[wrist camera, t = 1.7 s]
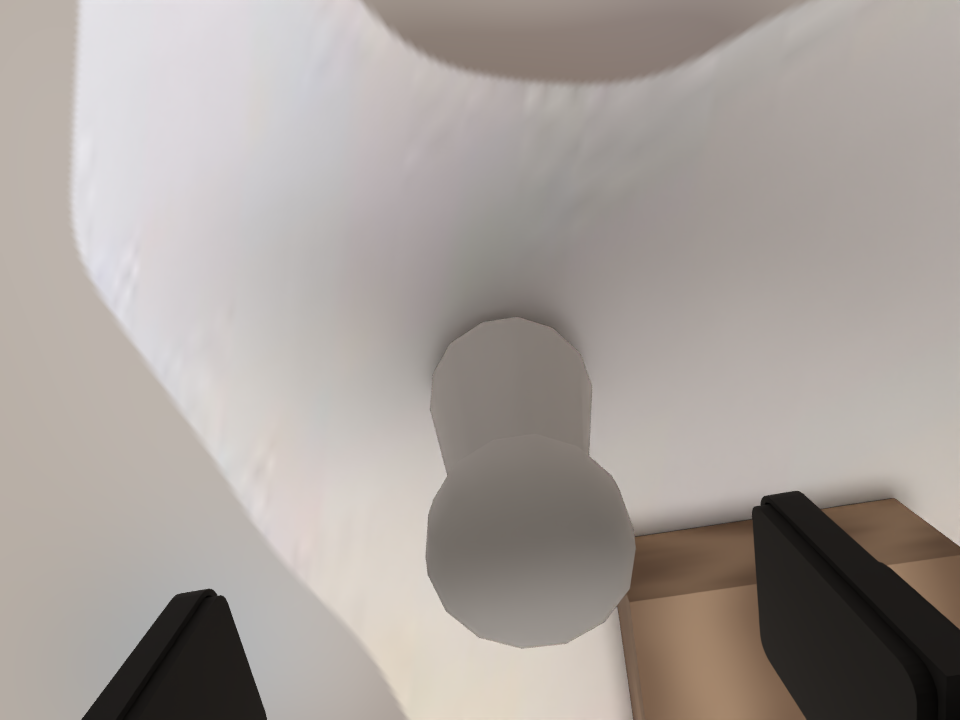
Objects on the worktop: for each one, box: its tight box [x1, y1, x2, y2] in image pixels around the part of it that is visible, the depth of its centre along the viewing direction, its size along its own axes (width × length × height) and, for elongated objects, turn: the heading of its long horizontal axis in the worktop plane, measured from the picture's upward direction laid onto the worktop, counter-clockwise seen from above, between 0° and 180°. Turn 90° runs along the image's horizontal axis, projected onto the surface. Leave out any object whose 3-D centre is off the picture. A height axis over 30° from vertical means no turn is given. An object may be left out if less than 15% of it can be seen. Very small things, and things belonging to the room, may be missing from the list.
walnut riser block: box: [617, 498, 960, 720], centre depth 25 cm, size 12×12×4 cm
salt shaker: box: [426, 317, 636, 648], centre depth 17 cm, size 6×6×13 cm
